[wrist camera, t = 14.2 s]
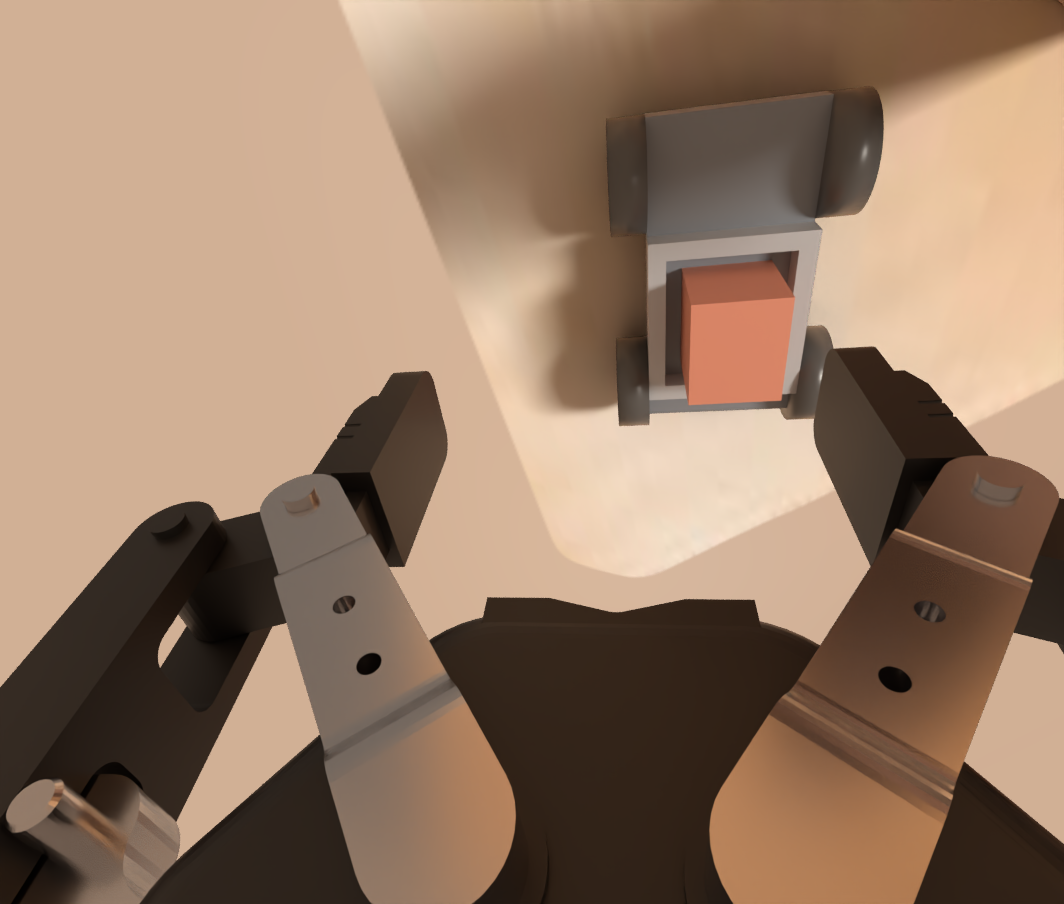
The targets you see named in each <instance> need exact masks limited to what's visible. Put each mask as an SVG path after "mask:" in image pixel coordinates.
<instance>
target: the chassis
mask: <svg viewBox="0 0 1064 904" xmlns="http://www.w3.org/2000/svg"><path fill="white" fill-rule="evenodd" d="M883 129H884V127H883V110H882V104H881V100H880V97H879V94H878V92H877V91H876V90H875V88H873V87H871V86H867V87H859V88H851V89H843V90H835V91H820V92H812V93H804V94H795V95H787V96H779V97H771V98H763V99H755V100H747V101H739V102H731V103H723V104H715V105H707V106H699V107H691V108H683V109H675V110H667V111H659V112H651V113H644V114H642V115H634V116H626V117H618V118H610V119H606V141H607V172H608V195H609V215H610V231H611V237H615V236H626V235H637V234H646V309H647V337H646V336H645V337H629V338H616V361H617V392H618V415H619V426H633V425H649V415H650V414H652V413H676V412H700V411H724V410H748V409H772V408H780V410H781V413H782V415H783V417H784V418H785V419H787V420H789V419H814V417H815V411H816V406H817V400H818V395H819V389H820V384H821V379H822V373H823V368H824V363H825V358H826V356H827V353H828V352H829V350H830V349H833V344H832V340H831V337H830V335H829V332H828V331H827V329H826V328H825V327H824V326H822V325H820V326H807V322H808V316H809V310H810V304H811V297H812V291H813V285H814V279H815V272H816V266H817V260H818V253H819V247H820V241H821V235H822V229H821V228H820V227H819V225H818V224H817V223H816V222H815V218H823V217H834V216H845V215H855V214H857V213H859V212H860V211H861V210H862V209H863V208H864V206H865V205H866V203H867V201H868V199H869V197H870V195H871V193H872V190H873V187H874V184H875V181H876V178H877V174H878V170H879V165H880V160H881V154H882V146H883ZM767 260H772V261H773V263H774V264H775V266H776V267H777V269H778V271H779V272H780V274H781V275H782V277H783V279H784V280H785V282H786V283H787V285H788V287H789V288H790V290H791V291H792V293H793V295H794V296H795V302H794V310H793V317H792V325H791V332H790V339H789V347H788V354H787V362H786V369H785V376H784V384H783V391H782V399H781V401H763V402H743V403H723V404H702V405H688V400H687V394H686V389H685V383H684V378H683V372H682V367H681V361H680V342H681V284H682V268H687V267H699V266H710V265H721V264H733V263H744V262H755V261H767Z"/></svg>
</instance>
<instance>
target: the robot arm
mask: <svg viewBox="0 0 1064 904" xmlns="http://www.w3.org/2000/svg"><path fill="white" fill-rule="evenodd" d="M1058 1H1059V2H1060V3H1061V4H1063V5H1064V0H1058ZM814 439H815V444H816V447H817V450H818V452H819V454H820V457H821V459H822V461H823V463H824V465H825V468H826V470H827V472H828V474H829V476H830V478H831V481H832V483H833V485H834V487H835V489H836V492H837V494H838V496H839V498H840V500H841V502H842V505H843V507H844V509H845V511H846V513H847V516H848V518H849V520H850V522H851V524H852V526H853V528H854V531H855V533H856V535H857V537H858V540H859V542H860V544H861V546H862V548H863V551H864V553H865V555H866V557H867V559H868V561H869V564H870V566H871V567H870V568H869V570H868V571H867V573H866V575H865V576H864V578H863V579H862V581H861V582H860V584H859V586H858V587H857V589H856V590H855V592H854V594H853V595H852V596H851V598H850V600H849V602H848V603H847V604H846V606H845V608H844V609H843V611H842V612H841V614H840V615H839V617H838V618H837V620H836V622H835V623H834V625H833V626H832V628H831V629H830V631H829V633H828V634H827V636H826V637H825V639H824V641H823V642H822V643H821V645H818V644H816V643H814V642H813V641H811V640H809V639H807V638H805V637H803V636H801V635H799V634H796V633H794V632H792V631H789V630H787V629H784V628H781V627H778V626H775V625H772V624H768V623H764V622H760V621H759V618H758V613H757V608H756V604H755V600H706V599H705V600H704V599H684V600H679V601H674V602H669V603H664V604H660V605H655V606H650V607H645V608H640V609H635V610H630V611H625V612H608V611H604V610H599V609H595V608H591V607H586V606H582V605H577V604H573V603H569V602H564V601H560V600H556V599H551V598H491V597H490V598H487V602H486V606H485V611H484V616H483V618H479V619H475V620H472V621H468V622H465V623H462V624H460V625H457V626H455V627H453V628H450V629H448V630H446V631H444V632H442V633H441V634H439V635H437V636H435V637H433V638H432V639H431V640H428V638H427V636H426V634H425V632H424V631H423V629H422V627H421V625H420V623H419V621H418V620H417V618H416V616H415V614H414V612H413V610H412V609H411V607H410V605H409V603H408V601H407V599H406V598H405V596H404V594H403V592H402V590H401V588H400V587H399V585H398V583H397V581H396V579H395V578H394V576H393V574H392V572H391V570H390V568H389V567H404V566H405V564H406V561H407V559H408V556H409V554H410V551H411V548H412V546H413V543H414V540H415V538H416V535H417V532H418V530H419V527H420V525H421V522H422V520H423V517H424V514H425V512H426V509H427V507H428V504H429V501H430V499H431V496H432V493H433V491H434V488H435V486H436V483H437V480H438V478H439V475H440V473H441V470H442V467H443V465H444V462H445V459H446V456H447V433H446V429H445V425H444V421H443V417H442V413H441V409H440V405H439V401H438V397H437V394H436V389H435V385H434V381H433V379H432V376H431V375H430V373H429V372H427V371H421V372H403V373H393V374H392V375H391V377H390V378H389V380H388V381H387V383H386V385H385V387H384V388H383V390H382V391H381V393H380V394H379V396H372V397H371V398H369V399H368V400H367V401H365V402H364V403H363V404H361V405H360V406H359V407H357V408H356V409H355V410H354V411H353V413H352V414H351V416H350V417H349V419H348V420H347V422H346V423H345V427H343V428H342V429H341V431H340V432H339V434H338V435H337V439H335V440H334V442H333V443H332V445H331V446H330V448H329V449H328V451H327V452H326V454H325V455H324V457H323V458H322V460H321V461H320V463H319V464H318V466H317V467H316V469H315V470H314V472H313V473H312V474H310V475H305V476H301V477H297V478H294V479H292V480H290V481H287V482H286V483H284V484H282V485H280V486H279V487H277V488H276V489H274V490H273V491H272V492H271V493H270V494H269V495H268V496H267V497H266V498H265V500H264V501H263V503H262V505H261V507H260V512H257V513H253V514H249V515H244V516H240V517H236V518H232V519H228V520H224V521H220V520H219V518H218V517H217V515H216V513H215V512H214V510H213V508H212V507H211V506H210V505H209V504H207V503H204V502H185V503H181V504H177V505H174V506H171V507H168V508H166V509H164V510H162V511H160V512H158V513H156V514H154V515H153V516H151V517H149V518H148V519H147V520H146V521H144V522H143V523H142V524H141V525H139V526H138V528H136V529H135V531H134V532H133V533H132V534H131V535H130V536H129V537H128V539H127V540H126V541H125V542H124V543H123V544H122V546H121V547H120V548H119V549H118V550H117V552H116V553H115V554H114V555H113V556H112V557H111V559H110V560H109V561H108V562H107V563H106V565H105V566H104V567H103V568H102V569H101V570H100V571H99V573H98V574H97V575H96V576H95V577H94V579H93V580H92V581H91V582H90V583H89V584H88V585H87V587H86V588H85V589H84V590H83V592H82V593H81V594H80V595H79V596H78V597H77V598H76V600H75V601H74V602H73V603H72V604H71V605H70V606H69V608H68V609H67V610H66V611H65V612H64V614H63V615H62V616H61V617H60V618H59V619H58V621H57V622H56V623H55V624H54V625H53V626H52V628H51V629H50V630H49V631H48V632H47V634H46V635H45V636H44V637H43V638H42V640H40V642H39V643H38V644H37V645H36V646H35V647H34V649H33V650H32V651H31V652H30V653H29V654H28V656H27V657H26V658H25V659H24V660H23V661H22V663H21V664H20V665H19V666H18V667H17V669H16V670H15V671H14V672H13V673H12V674H11V676H10V677H9V678H8V679H7V680H6V681H5V683H4V684H3V685H2V686H1V687H0V904H1064V844H1063V843H1062V842H1061V841H1059V840H1058V839H1057V838H1056V837H1055V836H1053V835H1052V834H1051V833H1050V832H1049V831H1047V830H1046V829H1045V828H1044V827H1042V826H1041V825H1040V824H1039V823H1038V822H1036V821H1035V820H1034V819H1033V818H1032V817H1030V816H1029V815H1028V814H1027V813H1026V812H1024V811H1023V810H1022V809H1021V808H1019V807H1018V806H1017V805H1016V804H1015V803H1014V802H1012V801H1011V800H1010V799H1009V798H1008V797H1006V796H1005V795H1004V794H1003V793H1001V792H1000V791H999V790H998V789H997V788H996V787H994V786H993V785H992V784H991V783H989V782H988V781H987V780H986V779H985V778H983V777H982V776H981V775H980V774H979V773H977V772H976V771H975V770H974V769H973V768H971V767H970V766H969V765H968V764H966V763H965V762H964V759H965V757H966V754H967V752H968V749H969V746H970V744H971V741H972V739H973V736H974V734H975V731H976V728H977V726H978V723H979V720H980V718H981V715H982V713H983V710H984V707H985V705H986V702H987V699H988V697H989V694H990V692H991V689H992V686H993V684H994V681H995V679H996V676H997V674H998V671H999V668H1000V666H1001V663H1002V660H1003V658H1004V655H1005V653H1006V650H1007V648H1008V645H1009V642H1010V640H1011V637H1012V635H1013V633H1018V634H1021V635H1026V636H1030V637H1034V638H1038V639H1042V640H1046V641H1050V642H1054V643H1058V645H1059V647H1060V648H1061V650H1062V652H1063V653H1064V499H1061V498H1059V494H1058V491H1057V489H1056V487H1055V486H1054V485H1053V484H1052V483H1051V482H1050V481H1049V480H1048V479H1047V478H1046V477H1045V476H1043V475H1042V474H1040V473H1039V472H1037V471H1035V470H1033V469H1031V468H1029V467H1027V466H1025V465H1022V464H1020V463H1017V462H1014V461H1011V460H1007V459H1002V458H998V457H992V456H988V454H987V453H986V452H985V451H984V450H983V448H982V447H981V446H980V445H979V444H978V442H977V441H976V440H975V439H974V438H973V437H972V435H971V434H970V433H969V432H968V430H967V429H966V428H965V427H964V426H963V424H962V423H961V422H960V421H959V420H958V418H957V417H953V413H952V411H951V410H950V409H949V408H948V407H947V405H946V404H945V403H942V399H941V398H940V397H939V396H938V395H937V393H936V392H935V391H934V390H933V389H932V387H931V386H930V385H929V384H928V383H926V382H924V381H923V380H921V379H919V378H917V377H915V376H914V375H912V374H910V373H908V372H906V371H905V370H903V371H894V370H893V369H892V368H891V366H890V365H889V364H888V363H887V361H886V360H885V359H884V357H883V356H882V355H881V354H880V352H879V351H878V350H877V349H876V348H875V347H856V348H838V349H830V350H829V352H828V353H827V356H826V358H825V363H824V368H823V373H822V379H821V384H820V389H819V395H818V400H817V406H816V411H815V417H814ZM177 615H179V616H180V617H181V619H182V620H183V621H184V623H185V624H186V625H187V627H186V628H185V630H184V631H183V633H182V635H181V637H180V638H179V639H178V641H177V643H176V644H175V646H174V647H173V649H172V650H171V652H170V654H169V655H168V657H167V658H166V660H165V661H164V663H163V665H162V666H161V668H160V667H159V664H158V650H159V646H160V643H161V640H162V638H163V637H164V635H165V633H166V632H167V630H168V628H169V627H170V626H171V624H172V623H173V621H174V620H175V618H176V617H177ZM284 623H287V625H288V629H289V632H290V636H291V639H292V642H293V646H294V649H295V652H296V656H297V659H298V662H299V666H300V669H301V672H302V676H303V679H304V683H305V686H306V689H307V693H308V696H309V699H310V702H311V706H312V709H313V713H314V716H315V720H316V723H317V726H318V729H319V733H320V735H319V736H318V737H316V738H315V739H314V740H313V741H312V742H311V743H310V744H308V745H307V747H305V748H304V749H303V750H302V751H301V752H299V753H298V754H297V755H296V756H295V757H294V758H293V759H291V760H290V761H289V762H288V763H287V764H286V765H285V766H283V767H282V768H281V769H280V770H279V771H278V772H277V773H275V774H274V775H273V776H272V777H271V778H270V779H269V780H268V781H266V782H265V783H264V784H263V785H262V786H261V787H259V788H258V789H257V790H256V791H255V792H254V793H253V794H252V795H250V796H249V797H248V798H247V799H246V800H245V801H244V802H243V803H241V804H240V805H239V806H238V807H237V808H236V809H235V810H233V811H232V812H231V813H230V814H229V815H228V816H227V817H225V818H224V819H223V820H222V821H221V822H220V823H219V824H217V825H216V826H215V827H214V828H213V829H212V830H211V831H209V832H208V833H207V834H206V835H205V836H204V837H202V838H201V839H200V840H199V841H198V842H197V843H196V844H195V845H194V846H192V847H191V848H190V849H189V850H188V851H187V852H185V853H184V854H183V855H182V856H181V857H180V858H179V859H178V860H177V861H176V859H177V856H178V852H179V847H180V832H179V828H178V825H177V823H176V821H177V819H178V817H179V815H180V813H181V811H182V809H183V807H184V805H185V803H186V801H187V799H188V797H189V795H190V793H191V791H192V789H193V787H194V785H195V783H196V781H197V779H198V776H199V774H200V772H201V770H202V768H203V766H204V764H205V762H206V760H207V758H208V756H209V754H210V752H211V750H212V748H213V746H214V744H215V742H216V740H217V738H218V736H219V734H220V732H221V730H222V727H223V726H224V724H225V722H226V720H227V718H228V716H229V714H230V712H231V710H232V708H233V705H234V703H235V701H236V699H237V697H238V695H239V693H240V691H241V689H242V687H243V685H244V683H245V681H246V679H247V677H248V675H249V673H250V671H251V669H252V667H253V665H254V663H255V661H256V659H257V657H258V655H259V653H260V651H261V648H262V647H263V645H264V643H265V641H266V638H267V636H268V634H269V632H270V630H271V628H272V626H276V625H280V624H284Z"/></svg>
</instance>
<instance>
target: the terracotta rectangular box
mask: <svg viewBox="0 0 1064 904" xmlns="http://www.w3.org/2000/svg"><path fill="white" fill-rule="evenodd" d="M794 302H795V296H794V295H793V293H792V291H791V290H790V288H789V287H788V285H787V283H786V282H785V280H784V279H783V277H782V275H781V274H780V272H779V271H778V269H777V267H776V266H775V264H774V263H773V261H772V260H767V261H755V262H744V263H733V264H721V265H710V266H699V267H687V268H682V284H681V342H680V361H681V367H682V372H683V378H684V383H685V389H686V394H687V400H688V405H702V404H723V403H743V402H763V401H781V399H782V391H783V384H784V376H785V369H786V362H787V354H788V347H789V339H790V332H791V325H792V317H793V310H794Z"/></svg>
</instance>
